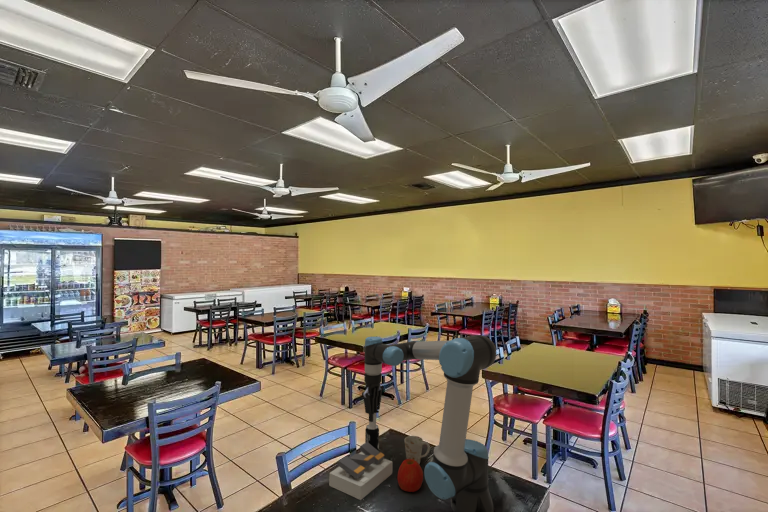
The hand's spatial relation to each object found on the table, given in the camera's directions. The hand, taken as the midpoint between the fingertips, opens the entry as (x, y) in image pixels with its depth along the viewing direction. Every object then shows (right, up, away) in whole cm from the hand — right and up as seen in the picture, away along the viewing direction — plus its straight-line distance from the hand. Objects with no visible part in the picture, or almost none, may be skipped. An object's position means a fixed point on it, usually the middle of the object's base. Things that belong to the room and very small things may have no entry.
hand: (372, 428), depth 156 cm
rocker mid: (-4, -10, -6) cm, 13 cm away
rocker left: (-8, -10, -12) cm, 17 cm away
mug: (+20, -19, +8) cm, 29 cm away
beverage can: (-1, -19, +16) cm, 25 cm away
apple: (+15, -18, -11) cm, 27 cm away
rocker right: (0, -10, 0) cm, 10 cm away
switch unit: (-4, -18, -7) cm, 20 cm away
